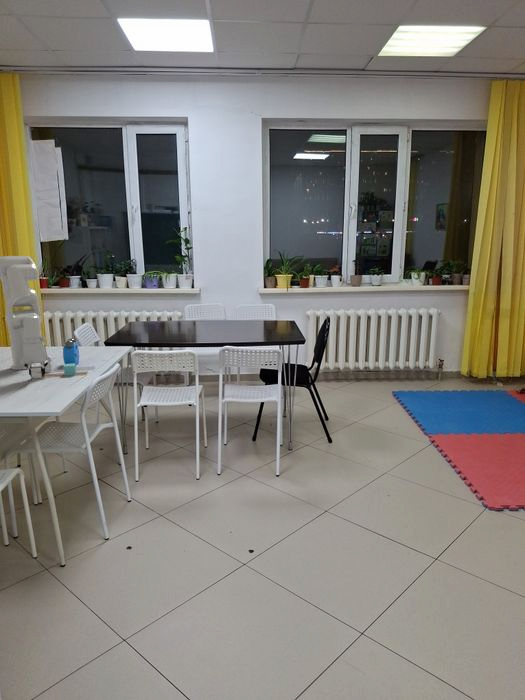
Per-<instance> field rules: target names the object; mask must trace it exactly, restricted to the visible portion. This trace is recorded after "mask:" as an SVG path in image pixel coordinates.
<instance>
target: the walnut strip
mask: <svg viewBox="0 0 525 700" xmlns="http://www.w3.org/2000/svg"><path fill="white" fill-rule="evenodd" d="M41 368H42V366H41V365H36V366H32V368H31V375H32V377H31V378H30V381H32V380H34V379H35V380H36V379H49V378H51V379H52V378H62V377H63V378H64V377H65V378H66V377H68V376H65V375H64V372H56V373H45V375H44V376H42V372H41ZM88 372H89V370H86V371H76V375H72V376H71V377H79V376H87V374H88Z"/></svg>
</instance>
